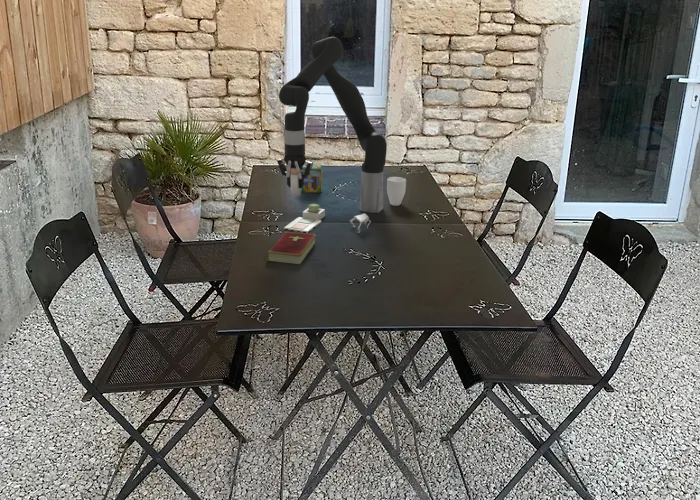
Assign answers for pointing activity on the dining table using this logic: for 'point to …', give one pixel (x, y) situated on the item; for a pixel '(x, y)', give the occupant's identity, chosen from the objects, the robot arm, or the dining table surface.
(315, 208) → the button
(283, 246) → the hardcover book
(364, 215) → the origami figure
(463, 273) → the dining table surface
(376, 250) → the dining table surface
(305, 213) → the button housing
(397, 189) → the mug
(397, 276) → the dining table surface
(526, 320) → the dining table surface
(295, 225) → the colouring board
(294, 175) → the marker
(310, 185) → the chalk box
